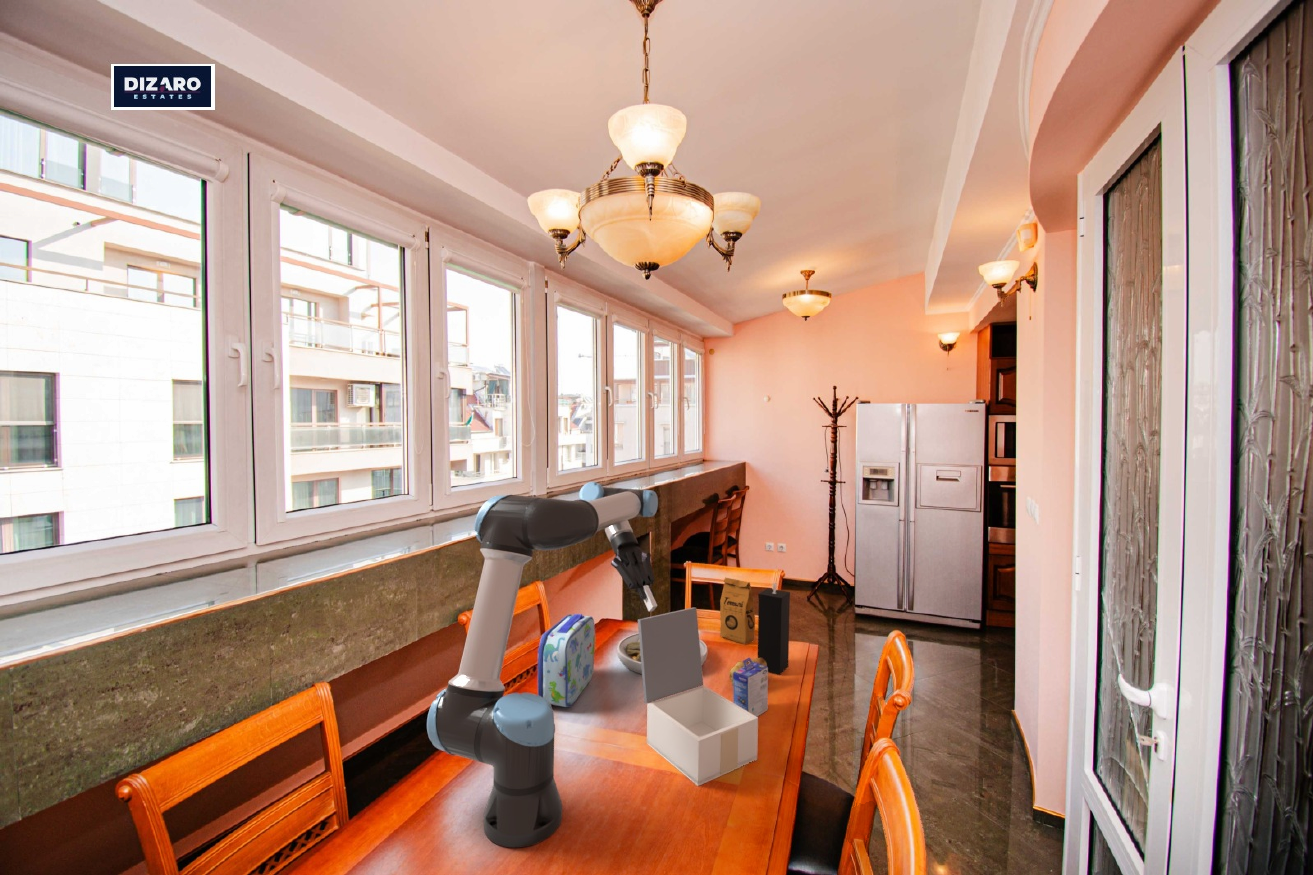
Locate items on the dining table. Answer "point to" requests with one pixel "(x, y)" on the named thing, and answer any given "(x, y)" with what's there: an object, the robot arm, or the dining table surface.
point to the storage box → (702, 733)
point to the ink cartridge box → (751, 687)
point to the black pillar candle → (774, 629)
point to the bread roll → (740, 665)
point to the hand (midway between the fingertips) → (653, 608)
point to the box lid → (670, 654)
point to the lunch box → (566, 659)
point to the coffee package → (737, 611)
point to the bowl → (631, 652)
